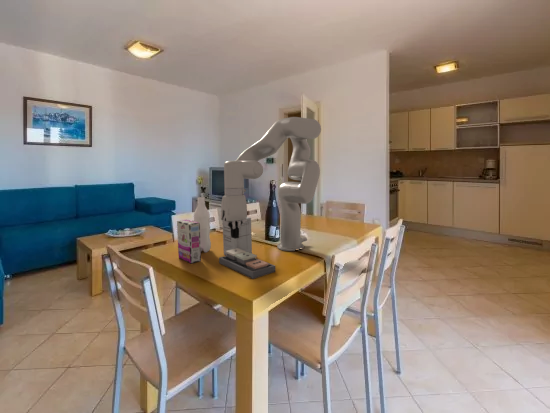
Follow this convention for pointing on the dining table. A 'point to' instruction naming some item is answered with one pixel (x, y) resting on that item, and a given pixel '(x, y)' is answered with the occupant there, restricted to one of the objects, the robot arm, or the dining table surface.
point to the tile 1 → (234, 253)
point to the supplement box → (242, 242)
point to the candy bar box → (189, 241)
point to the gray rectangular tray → (243, 268)
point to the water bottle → (203, 224)
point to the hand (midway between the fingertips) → (234, 237)
